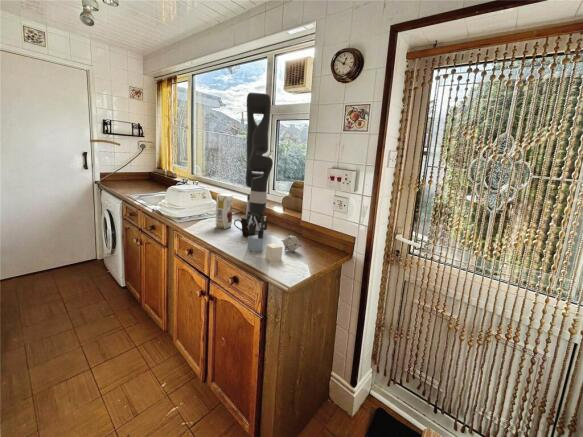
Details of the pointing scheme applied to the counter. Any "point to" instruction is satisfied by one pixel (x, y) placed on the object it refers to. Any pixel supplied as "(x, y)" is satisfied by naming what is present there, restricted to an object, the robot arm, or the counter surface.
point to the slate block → (255, 243)
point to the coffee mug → (245, 226)
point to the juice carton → (224, 210)
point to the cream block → (273, 252)
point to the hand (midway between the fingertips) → (255, 235)
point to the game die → (291, 243)
